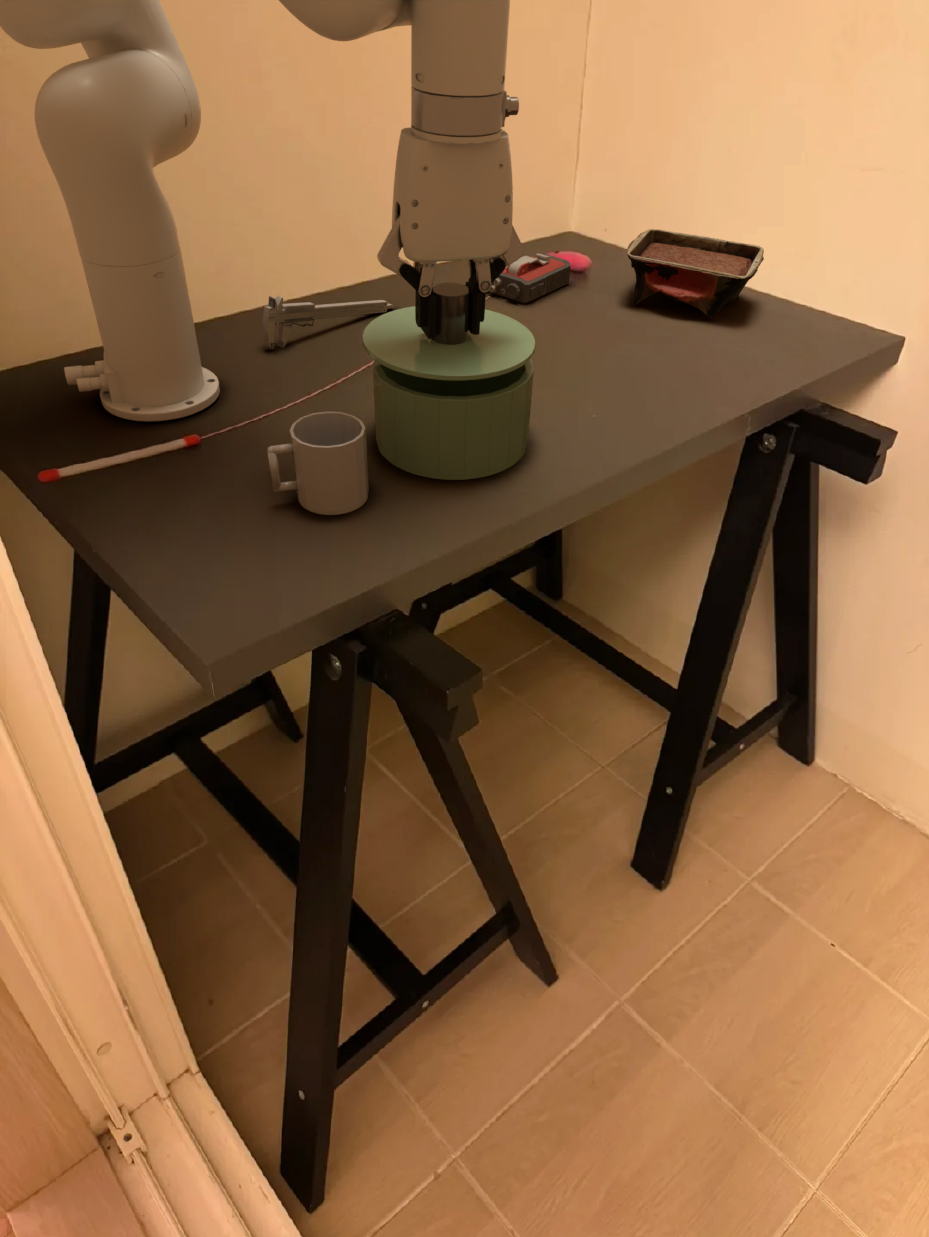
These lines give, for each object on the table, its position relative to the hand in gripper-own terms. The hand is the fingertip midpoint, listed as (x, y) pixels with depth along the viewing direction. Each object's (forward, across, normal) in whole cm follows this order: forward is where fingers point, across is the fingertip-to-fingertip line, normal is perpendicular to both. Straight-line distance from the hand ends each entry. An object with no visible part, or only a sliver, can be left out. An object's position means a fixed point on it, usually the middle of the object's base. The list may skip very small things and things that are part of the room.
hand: (449, 329), depth 83 cm
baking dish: (+12, -45, -29) cm, 54 cm away
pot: (+12, -1, 0) cm, 12 cm away
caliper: (+12, +5, -32) cm, 34 cm away
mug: (+12, +14, +7) cm, 20 cm away
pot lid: (+1, 0, 0) cm, 1 cm away
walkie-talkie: (+12, -22, -38) cm, 45 cm away
